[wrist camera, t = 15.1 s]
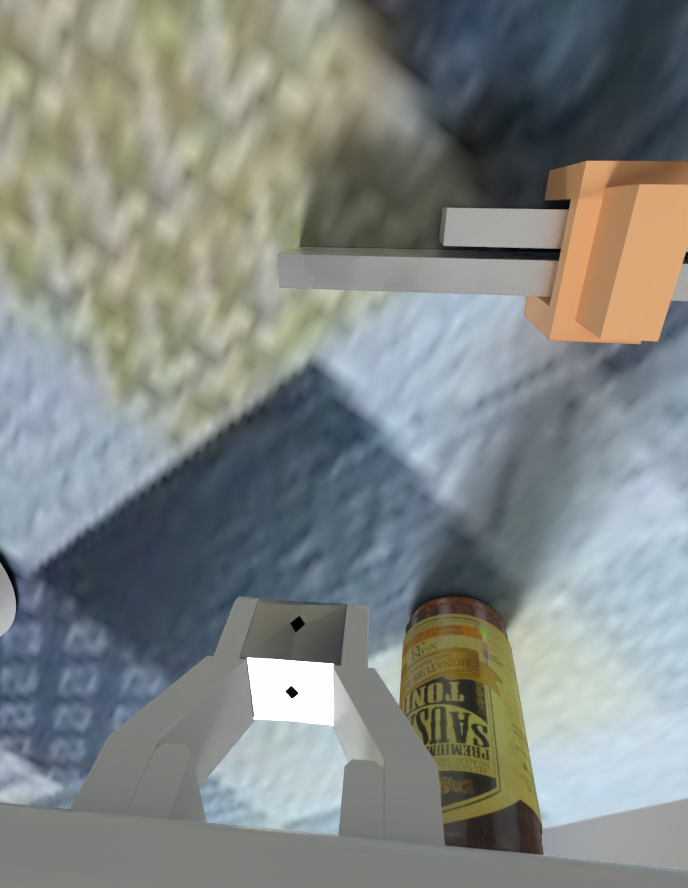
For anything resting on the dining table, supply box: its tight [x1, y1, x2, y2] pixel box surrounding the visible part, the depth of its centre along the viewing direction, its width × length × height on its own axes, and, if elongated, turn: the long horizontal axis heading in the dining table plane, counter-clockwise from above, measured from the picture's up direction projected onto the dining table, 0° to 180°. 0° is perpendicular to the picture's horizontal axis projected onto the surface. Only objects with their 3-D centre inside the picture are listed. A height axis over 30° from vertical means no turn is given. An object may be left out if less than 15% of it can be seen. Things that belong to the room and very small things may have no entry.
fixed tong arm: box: [278, 247, 688, 301], centre depth 18 cm, size 24×1×4 cm, turn 90°
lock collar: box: [524, 161, 688, 344], centre depth 16 cm, size 3×5×7 cm, turn 0°
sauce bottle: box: [399, 596, 543, 855], centre depth 21 cm, size 7×6×20 cm
